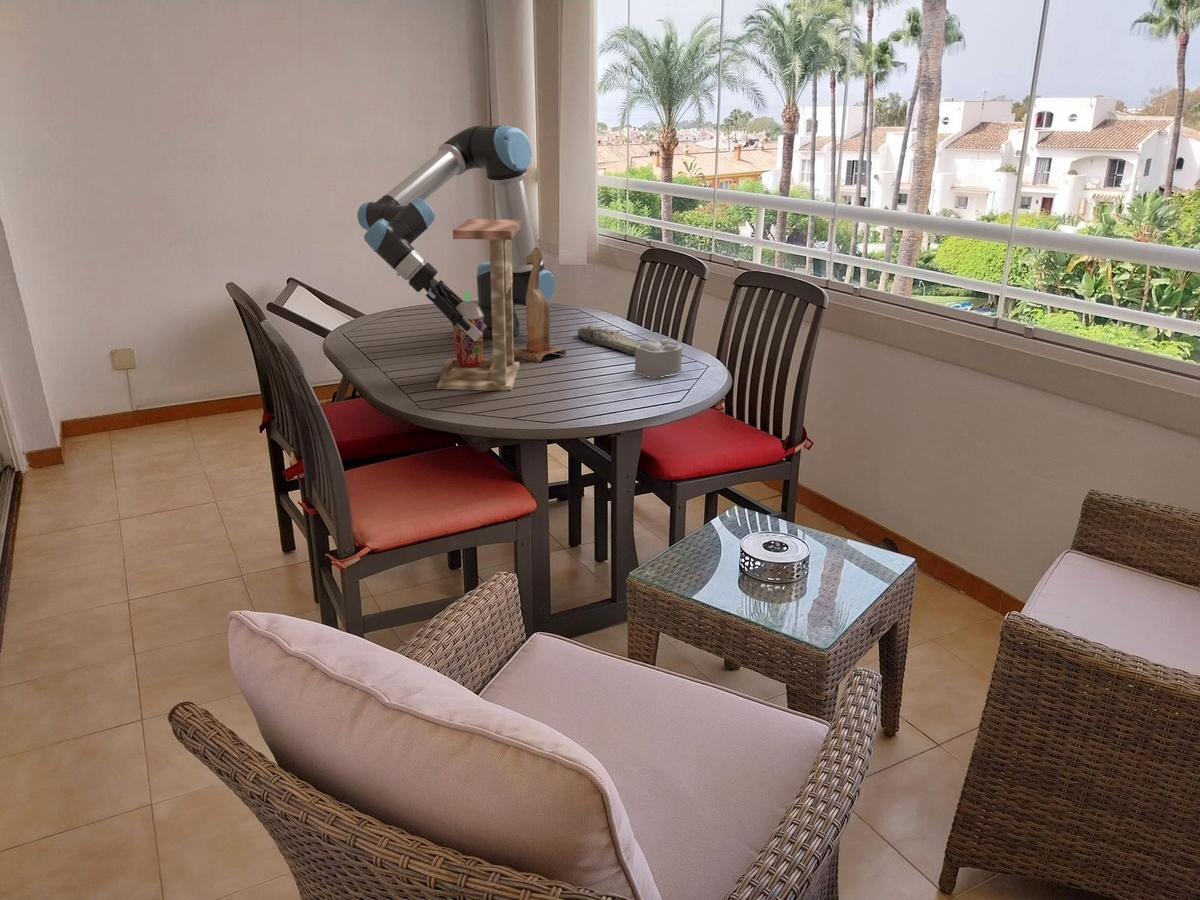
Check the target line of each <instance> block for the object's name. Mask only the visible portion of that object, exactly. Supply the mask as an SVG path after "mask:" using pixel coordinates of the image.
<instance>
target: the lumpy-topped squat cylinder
mask: <svg viewBox="0 0 1200 900" xmlns="http://www.w3.org/2000/svg"><path fill="white" fill-rule="evenodd" d="M682 353H683V346H682V345H681V344H680V343H679V342H678V343H677V342H676V341H675V340H671V339H668V338H663V339H661V340H657V339H655V338H649V339H647V341H646V342H643V344H641V345H637V346H636V353H635V355H634V357H635V359H634V373H635V372H636V373H635V374H638V373H641V374H644V375H646V376H650V377H661V376H665V375H670V374H674V373H677V372H679V371H680V370H681V371H682V356H683V355H682ZM641 374H640V375H641ZM644 375H643V376H644ZM646 376H645V377H646Z"/></svg>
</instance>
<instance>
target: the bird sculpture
mask: <svg viewBox="0 0 1200 900" xmlns="http://www.w3.org/2000/svg"><path fill="white" fill-rule="evenodd" d="M542 260H543V254H542V251H541V249H540V248H538V246H537V247H534V250H533V252H532V254H529V255H528V256H527V258H526V265H529V264H531V265H533V268H532V271H531V274H530V278H529V283H528V289H527V300H526V306H525V307H526V308H525V310H526V311H525V313H526V314H525V315H526V316H525V317H526V319H525V322H526V331H527V335H528V337H527V341H526V344H525V346H524V347H519V348H516V349H515V348H514V358H517V359H522V360H525V359H526V360H525V361H530V362H534V361H535V363H538V362H541V363H542V359H543V358H544V356H547V355H549V354H555V355H558V354H559V355H561V356H566V353H567V352H566V350H565V349H563V348H558V347H551V346H550V345H551V331H550V330H551V317H550V315H551V312H550V311H551V310H550V303H549V302H548V301H547V299H546V298H545V296H544V295H543V293H542V292H541V291H540V290H539V272H540V266H541V261H542Z"/></svg>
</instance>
